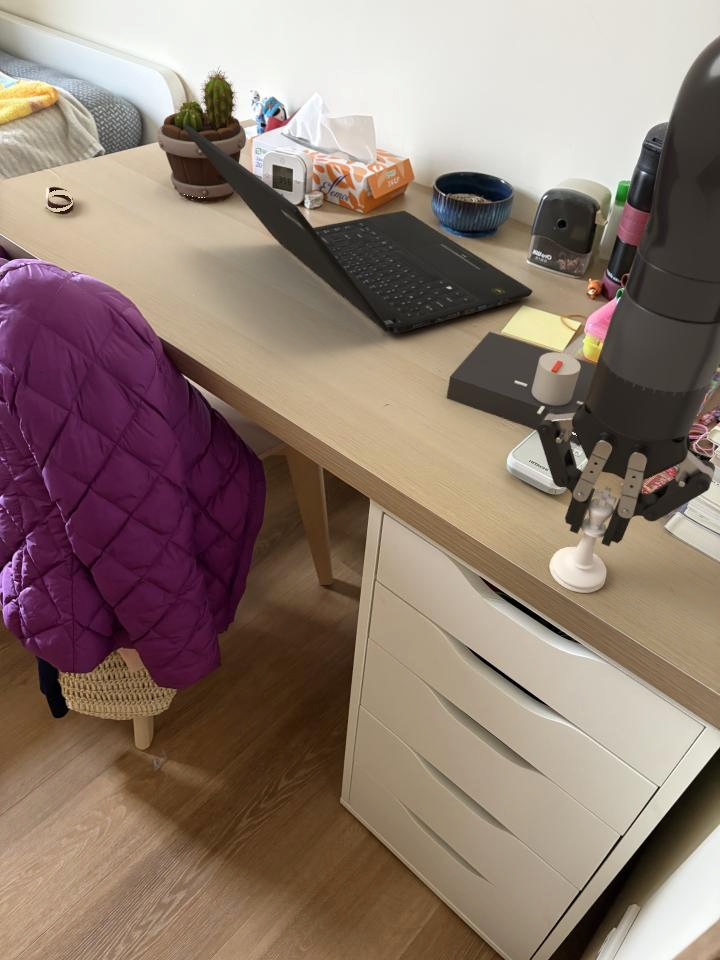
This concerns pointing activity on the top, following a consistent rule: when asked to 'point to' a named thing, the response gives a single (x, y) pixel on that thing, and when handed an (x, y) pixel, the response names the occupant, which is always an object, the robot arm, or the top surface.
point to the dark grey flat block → (510, 381)
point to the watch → (57, 204)
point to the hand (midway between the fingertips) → (592, 532)
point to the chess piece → (585, 550)
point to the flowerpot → (215, 125)
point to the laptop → (376, 256)
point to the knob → (555, 378)
